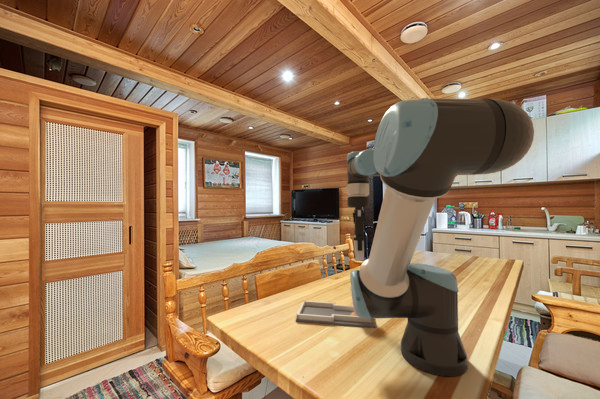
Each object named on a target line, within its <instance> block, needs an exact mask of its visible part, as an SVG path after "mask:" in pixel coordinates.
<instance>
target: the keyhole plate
mask: <svg viewBox="0 0 600 399" xmlns="http://www.w3.org/2000/svg"><path fill="white" fill-rule="evenodd" d="M374 319H375V318H373V319H370V318H361V317H359V316H354V309H353V305H345V304H336V302H330V301H329V302H328V301H314V300H313V301H312V300H302V303H301V304H300V307H299V308H298V310H297V313H296V318H295V322H299V323H309V324H310V323H312V324H322V325H334V326H335V325H336V326H346V327H348V326H349V327H359V328H370V329H371V328H372V329H375V328H376V325H375V320H374Z"/></svg>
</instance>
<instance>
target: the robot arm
mask: <svg viewBox="0 0 600 399" xmlns="http://www.w3.org/2000/svg"><path fill="white" fill-rule="evenodd" d="M534 136H535V128H534V123H533V121H532V119H531V117H530V115H529V114H528V113H527V111H525V110H524V109H523V108H522V107H520V105H518V104H516V103H514V102H511V101H509V100H505V99H501V98H485V97H484V98H428V97H423V98H418V99H407V100H406V99H404V100H400V101H397V102H396V103H394V104H393V105H391V106H390V107H389V109H387V110H386V111H385V113H384V115H383V116H382V118H381V121H380V123H379V125H378V128H377V131H376V134H375V139H374V143H373V148H374V149H370V148H369V149H364V150H359V151H351V152H349V153H348V154H347V156H346V174H347V175H346V179H347V185H346V186H345V190H347V196H348V197H347V200H346V201H347V202H346V203H347V208H354V210H353V212H352V219H353V221H352V222H353V224H354V230H353V232H354V233H353V234H354V236H353V241H354V253H355V261H356V262H357V261H358V262H362V263H361V265H360V268H359V269H355V270H351V271H350V273H349V274H350V275H349V277H350V281H349V282H350V287H351V290H352V294H351V298H352V297H353V302H352V304H353V303H354V307H355V311H356V313H357V315H358V316H359V317H361V318H370V319H373V318H374V319H407V322H406V325H405V329H404V331H403V335H402V338H401V341H400V352H401V355H402V357H403V358H404V359H405V360H406V361H407V362H408V363H409V364H411V365H412V366H414V367H415V368H417V369H419V370H420V371H423V372H426V373H429V374H432V375H437V376H442V377H456V376H461V375H463V374H464V373H466V372H467V371H468V368H469V367H468V363H469V362H468V355H467V352H466V349H465V345H464V343H463V342H462V339H461V335H460V332H459V304H458V303H459V302H458V301H459V300H458V296H459V294H458V293H459V286H458V282H457V281H458V280H457V276H456V275H455V274H454V273H453V272H452V271H450V270H448V269H446V268H443V267H440V266H435V265H431V264H427V263H426V264H425V263H419V262H418V263H417V262H411V261H412V259H413V256H414V254H415V252H416V249H417V246H418V244H419V241H420V239H421V237H422V233H423V231H424V229H425V226H426V224H427V222H428V218H429V216H430V213H431V211H432V208H433V206H434V204H435V201H436V199H439V198H442V197H445V196H446V195H447V194H448V193H449V192H450V190H451V189H452V186H453V183H454V181H455V179H456V177H457V176H467V175H468V176H472V175H473V176H475V175H489V174H490V175H491V174H495V173H499V172H502V171H505V170H507V169H509V168H511V167H513V166H515V165H516V164H517V163H519V162H520V161H522V160H523V158H524V157H525V156H526V155H527V154H528V152H529V151H530V149H531V147H532V145H533V142H534ZM370 177H380V180H381V182H382V183H383V184H384V185H385V186H386V187H385V189H384V194H383V199H382V202H381V207H380V211H379V214H378V218H377V219H378V220H377V224H376V227H375V230H374V237H373V240H372V244H371V249H370V253H369V257H368V258H367V259H365V231H364V230H365V229H364V224H365V212H364V210H363V208H369V207H370V197H369V195H370V181H369V180H370V179H369V178H370Z"/></svg>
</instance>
